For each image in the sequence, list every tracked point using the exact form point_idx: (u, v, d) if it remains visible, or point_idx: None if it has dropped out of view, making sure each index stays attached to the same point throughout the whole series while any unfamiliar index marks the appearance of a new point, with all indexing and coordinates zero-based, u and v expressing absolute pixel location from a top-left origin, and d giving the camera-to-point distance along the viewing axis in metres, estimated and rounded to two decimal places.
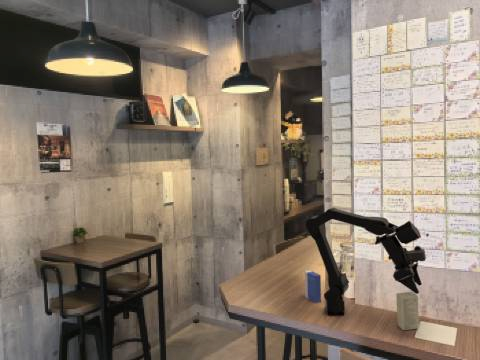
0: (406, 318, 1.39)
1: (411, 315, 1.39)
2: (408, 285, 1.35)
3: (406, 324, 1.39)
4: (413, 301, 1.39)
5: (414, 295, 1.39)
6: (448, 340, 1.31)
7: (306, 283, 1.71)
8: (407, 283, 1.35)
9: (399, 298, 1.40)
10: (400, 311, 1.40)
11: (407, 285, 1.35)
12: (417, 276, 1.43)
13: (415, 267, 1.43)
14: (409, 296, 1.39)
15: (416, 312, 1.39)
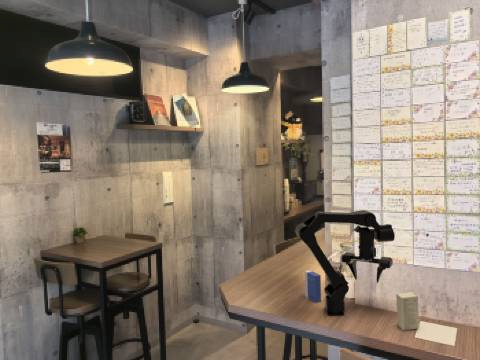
0: (406, 318, 1.39)
1: (411, 315, 1.39)
2: (380, 274, 1.52)
3: (406, 324, 1.39)
4: (413, 301, 1.39)
5: (414, 295, 1.39)
6: (448, 340, 1.31)
7: (306, 283, 1.71)
8: None
9: (399, 298, 1.40)
10: (400, 311, 1.40)
11: (380, 274, 1.52)
12: (356, 271, 1.59)
13: None
14: (409, 296, 1.39)
15: (416, 312, 1.39)
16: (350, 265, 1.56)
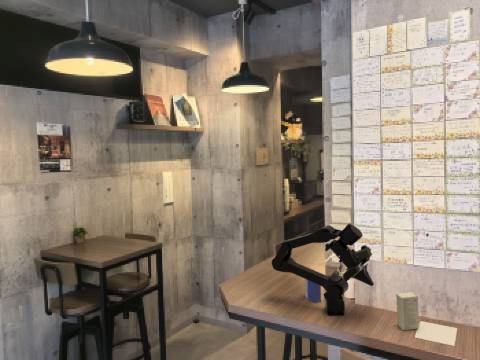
0: (406, 318, 1.39)
1: (411, 315, 1.39)
2: (362, 279, 1.47)
3: (406, 324, 1.39)
4: (413, 301, 1.39)
5: (414, 295, 1.39)
6: (448, 340, 1.31)
7: (306, 283, 1.71)
8: (361, 278, 1.48)
9: (399, 298, 1.40)
10: (400, 311, 1.40)
11: (361, 280, 1.48)
12: None
13: (364, 269, 1.49)
14: (409, 296, 1.39)
15: (416, 312, 1.39)
16: None
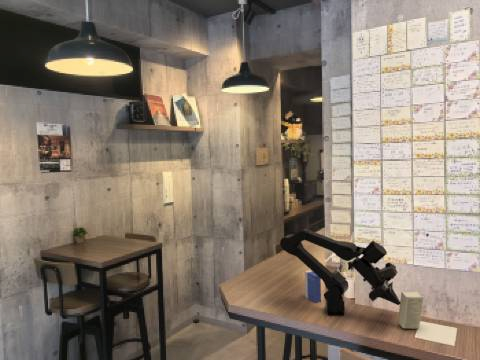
0: (408, 317, 1.39)
1: (413, 315, 1.39)
2: (388, 298, 1.43)
3: (407, 323, 1.39)
4: (418, 301, 1.38)
5: (419, 296, 1.38)
6: (448, 340, 1.31)
7: (306, 283, 1.71)
8: (387, 297, 1.43)
9: (404, 297, 1.39)
10: (403, 309, 1.39)
11: (388, 299, 1.43)
12: None
13: None
14: (415, 296, 1.38)
15: (419, 312, 1.39)
16: None
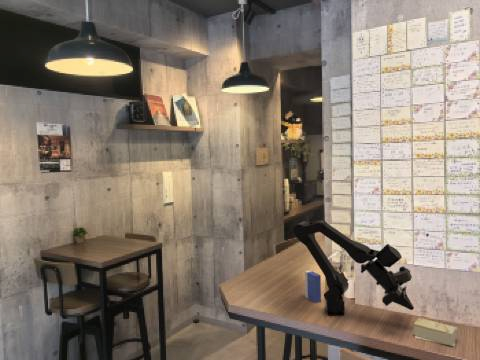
0: None
1: None
2: (402, 303, 1.40)
3: None
4: None
5: (456, 337, 1.31)
6: None
7: (306, 283, 1.71)
8: (400, 301, 1.41)
9: (449, 341, 1.28)
10: (433, 338, 1.31)
11: (401, 303, 1.41)
12: None
13: None
14: (454, 341, 1.30)
15: None
16: None
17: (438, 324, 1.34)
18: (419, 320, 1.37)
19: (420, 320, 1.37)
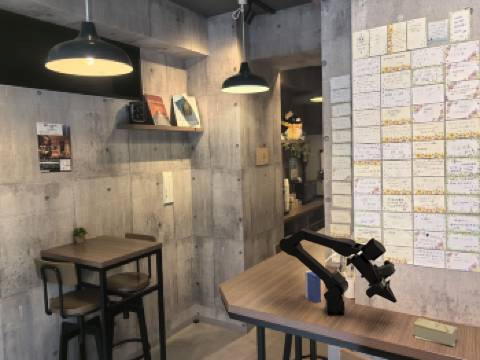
0: None
1: None
2: (385, 296, 1.43)
3: None
4: None
5: (456, 337, 1.31)
6: None
7: (306, 283, 1.71)
8: (384, 294, 1.44)
9: (449, 341, 1.28)
10: (433, 338, 1.31)
11: (384, 296, 1.44)
12: None
13: (387, 285, 1.45)
14: (454, 341, 1.30)
15: None
16: None
17: (438, 324, 1.34)
18: (419, 320, 1.37)
19: (420, 320, 1.37)
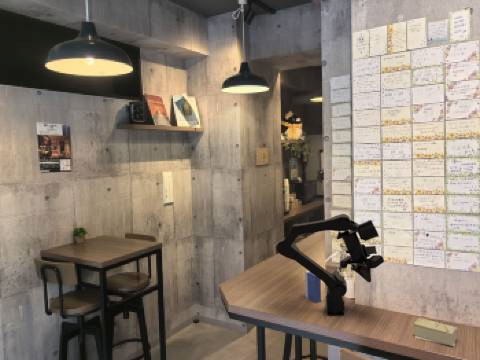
0: None
1: None
2: (366, 274, 1.50)
3: None
4: None
5: (456, 337, 1.31)
6: None
7: (306, 283, 1.71)
8: (366, 272, 1.50)
9: (449, 341, 1.28)
10: (433, 338, 1.31)
11: (366, 274, 1.50)
12: None
13: None
14: (454, 341, 1.30)
15: None
16: (355, 270, 1.52)
17: (438, 324, 1.34)
18: (419, 320, 1.37)
19: (420, 320, 1.37)
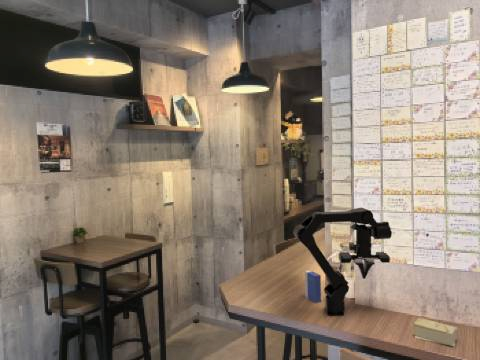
0: None
1: None
2: None
3: None
4: None
5: (456, 337, 1.31)
6: None
7: (306, 283, 1.71)
8: None
9: (449, 341, 1.28)
10: (433, 338, 1.31)
11: None
12: None
13: None
14: (454, 341, 1.30)
15: None
16: (361, 265, 1.53)
17: (438, 324, 1.34)
18: (419, 320, 1.37)
19: (420, 320, 1.37)
